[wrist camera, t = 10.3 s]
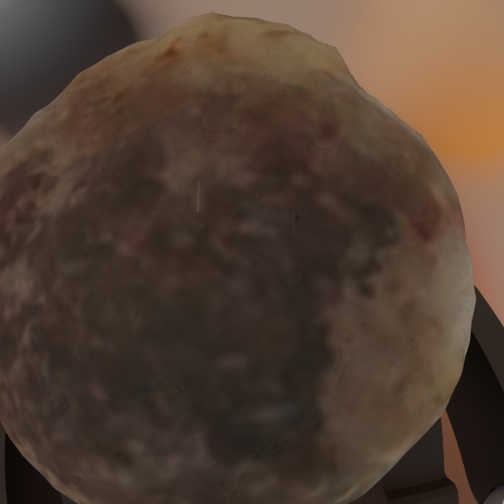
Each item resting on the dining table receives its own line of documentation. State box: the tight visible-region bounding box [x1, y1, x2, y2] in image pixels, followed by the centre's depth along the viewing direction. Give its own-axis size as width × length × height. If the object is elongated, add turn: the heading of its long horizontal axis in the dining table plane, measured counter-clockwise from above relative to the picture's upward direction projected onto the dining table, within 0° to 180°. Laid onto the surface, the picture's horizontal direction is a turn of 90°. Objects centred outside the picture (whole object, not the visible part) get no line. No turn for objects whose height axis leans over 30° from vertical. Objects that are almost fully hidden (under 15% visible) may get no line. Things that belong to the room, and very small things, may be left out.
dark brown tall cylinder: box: [0, 13, 476, 504], centre depth 12 cm, size 8×7×20 cm
